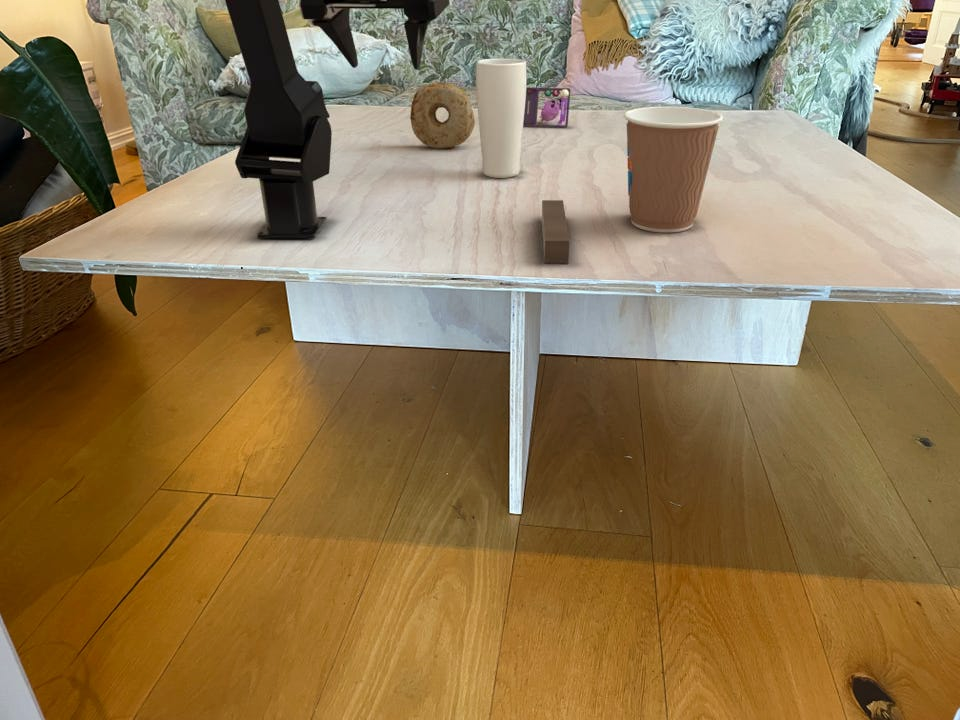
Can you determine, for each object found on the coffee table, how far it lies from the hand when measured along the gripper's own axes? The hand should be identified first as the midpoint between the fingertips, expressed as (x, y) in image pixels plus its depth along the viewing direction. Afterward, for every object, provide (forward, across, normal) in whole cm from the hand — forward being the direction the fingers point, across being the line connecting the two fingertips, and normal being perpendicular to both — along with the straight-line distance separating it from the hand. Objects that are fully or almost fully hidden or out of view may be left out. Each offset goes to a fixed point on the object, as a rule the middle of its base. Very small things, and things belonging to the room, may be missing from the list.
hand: (386, 67), depth 100 cm
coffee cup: (+10, -40, +16) cm, 44 cm away
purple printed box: (+25, -12, -34) cm, 44 cm away
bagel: (+18, -1, -12) cm, 22 cm away
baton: (+7, -29, +25) cm, 39 cm away
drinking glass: (+15, -15, +1) cm, 21 cm away
